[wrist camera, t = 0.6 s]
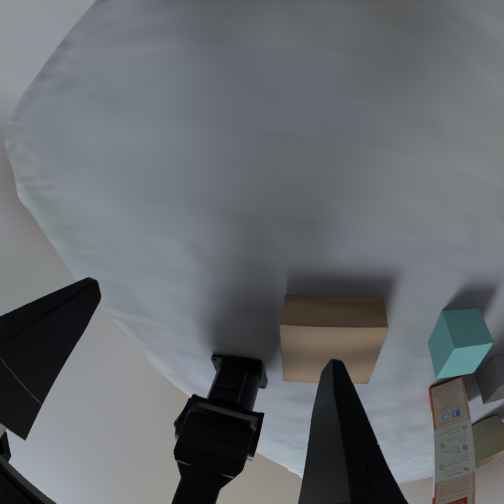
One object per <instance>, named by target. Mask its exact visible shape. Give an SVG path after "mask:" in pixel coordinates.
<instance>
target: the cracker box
mask: <svg viewBox="0 0 504 504" xmlns="http://www.w3.org/2000/svg"><path fill="white" fill-rule="evenodd" d="M429 397H430V406H431V417H432V430H433V451H434V479H433V482H434V483H433V501H432V504H475V486H476V484H475V482H476V480H475V479H476V478H475V454H474V442H473V433H472V425H471V417H470V411H469V405H468V399H467V394H466V389H465V385H464V380H463V377H462V376H460V377H458V378H456V379H453V380H450V381H448V382H445V383H442V384H440V385H437V386H434V387H431V388H429Z"/></svg>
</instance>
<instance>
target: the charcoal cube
mask: <svg viewBox="0 0 504 504" xmlns="http://www.w3.org/2000/svg"><path fill="white" fill-rule="evenodd" d="M477 379H478V383H479V387H480V391H481V396H482V400H483V404H486V403H490V402H493V401H497V400H500V399H503V398H504V355H500V356H495V357H492V358H491V359H490V360H489V362H488V363H487V365H486V366H485V367H484V369H483V370H482V372H481V373H480V374H479V376H478V377H477Z"/></svg>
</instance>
